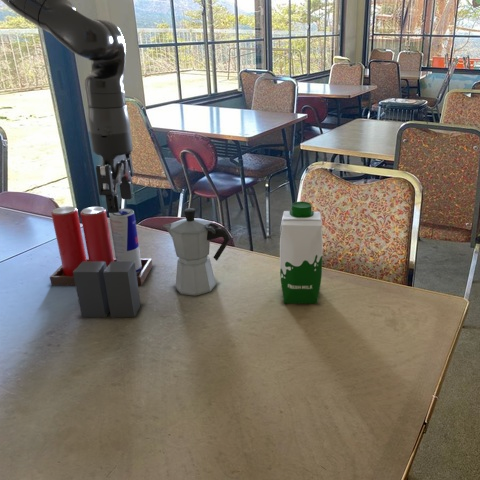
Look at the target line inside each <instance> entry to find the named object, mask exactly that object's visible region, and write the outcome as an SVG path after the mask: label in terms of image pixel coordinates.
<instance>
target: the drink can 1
mask: <svg viewBox="0 0 480 480" xmlns="http://www.w3.org/2000/svg"><path fill="white" fill-rule="evenodd" d="M50 215H51V218H52V223H53V228H54V233H55V239H56V243H57V248H58V252H59V258H60V262H61V265H62V267H63V272H64V276H74V275H73V271H74V270H75V269H76V268H77V267H78V266H79V265H80V264H81V262H82V261H87V259H88V258H87V254H86V249H85V244H84V239H83V234H82V228H81V223H80V222H81V221H80V217H79V212H78V209H77V208H76V207H75V206H69V205H67V206H60V207H56V208H54V209H53V210H52V211H50Z"/></svg>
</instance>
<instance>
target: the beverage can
mask: <svg viewBox="0 0 480 480" xmlns="http://www.w3.org/2000/svg"><path fill="white" fill-rule="evenodd" d="M108 215H109V217H108V219H109V224H110V229H111V237H112V243H113V249H114V256H115V259H116V261H135V268H136V275H138V274H139V272H141V270H142V265H141V259H142V258H141V252H140V244H139V237H138V229H137V222H136V215H135V211H134V209H132V208H120V211H119V212H118V213H109V212H108Z"/></svg>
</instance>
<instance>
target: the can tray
mask: <svg viewBox="0 0 480 480" xmlns="http://www.w3.org/2000/svg"><path fill="white" fill-rule="evenodd" d="M86 259H87V261H89V258H86ZM114 261H116V258H114ZM141 265H142V270H141V272H139V274H138V275H137V282H138V287H139V286H142V285H143V284H144V282H145V281H146V278H147V277H148V275H149V273H150V272H151V270H152V269H153V259H152V258H141ZM49 281H50V285H51V287H52V286H53V287H54V286H55V287H56V286H57V287H60V286H64V287H65V286H67V287H68V286H71V287H72V286H73V287H74V286H75V287H76V285H75V280H74V276H64V272H63V267H62V264H61V265H60V266H59V267H58V268H57V269H56V270H55V271H54V272H53V273H52V274H51V275H50V276H49Z"/></svg>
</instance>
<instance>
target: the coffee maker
mask: <svg viewBox="0 0 480 480" xmlns="http://www.w3.org/2000/svg"><path fill="white" fill-rule="evenodd" d="M183 212H184V215H185V218H182V219H180V220H177V221H174V222H171V223H167V224H166V223H165V224H163V225H162V227H164V228H165V229H166V231H167V232H168V234H169V235H170V237H171V238H172V242H173V247H174V251H175V255H176V257H177V258H178V259H177V263H176V274H175V275H176V277H175V285H174V286H175V287H174V288H175V289H176V290H177V291H178V293H179V294H180V295H186V296H187V295H188V296H193V297H196V296H200V295H203V294H206V293H211V291H212V290H213V289H214V288H215V287H216V285H217V281H216V277H215V274H214V270H213V265H212V263H211V258H210V256H209V255H210V247H211V241H212V240H215V239H219V238H222V239H223V241H222V243H221V245H219V247H218V249H217V251H216V253H215V254H214V256H213V259H214V260H215V261H218V260H219V259H220V257H221V256H222V254H223V252H224V251H225V249H226V247H227V246H228V244H229V243H230V241H231V239H232V238H231V235H230V233H229V232H228V230H227V229H226V228H224V227H220V225H218V224H217V223H216V222H211V221H210V220H207V219H203V218H200V217H196V218H195V214H196V208H193V207H188V208H185V209H184V210H183Z"/></svg>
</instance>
